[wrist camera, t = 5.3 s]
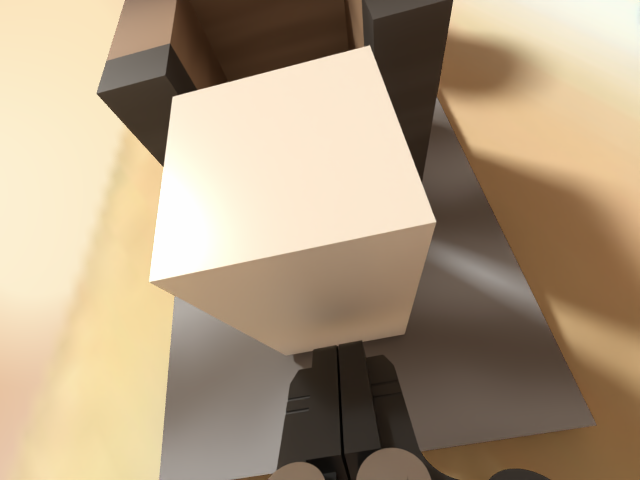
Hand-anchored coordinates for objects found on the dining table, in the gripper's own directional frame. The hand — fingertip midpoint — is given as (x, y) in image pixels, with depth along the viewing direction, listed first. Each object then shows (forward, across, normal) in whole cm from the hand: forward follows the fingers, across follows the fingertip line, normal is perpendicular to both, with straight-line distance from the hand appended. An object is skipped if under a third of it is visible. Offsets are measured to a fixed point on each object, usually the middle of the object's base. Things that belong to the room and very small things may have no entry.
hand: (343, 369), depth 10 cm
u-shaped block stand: (+8, 0, -2) cm, 9 cm away
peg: (+5, 0, 0) cm, 5 cm away
